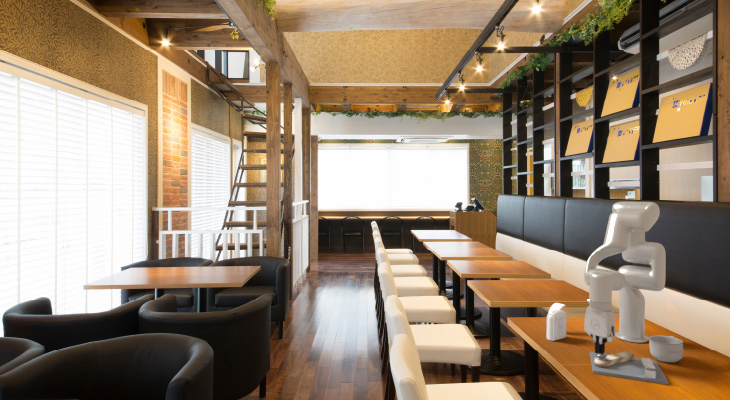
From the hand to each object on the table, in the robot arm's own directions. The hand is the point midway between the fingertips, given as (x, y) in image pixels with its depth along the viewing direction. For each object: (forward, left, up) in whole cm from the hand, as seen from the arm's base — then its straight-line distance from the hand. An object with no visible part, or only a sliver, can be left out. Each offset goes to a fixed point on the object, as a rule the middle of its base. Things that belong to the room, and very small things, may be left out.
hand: (599, 353), depth 167 cm
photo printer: (-19, -15, -2) cm, 24 cm away
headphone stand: (-31, -15, -2) cm, 34 cm away
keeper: (+10, +14, -2) cm, 17 cm away
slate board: (+6, +8, -2) cm, 10 cm away
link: (+5, +4, -1) cm, 7 cm away
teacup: (-11, +24, -2) cm, 26 cm away
